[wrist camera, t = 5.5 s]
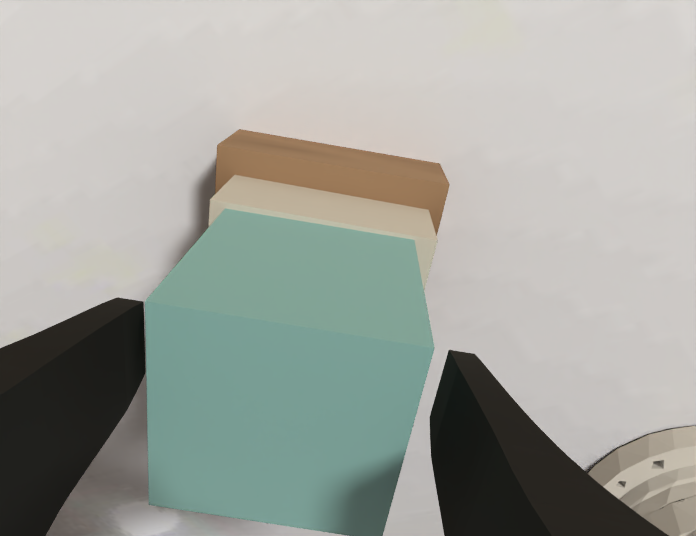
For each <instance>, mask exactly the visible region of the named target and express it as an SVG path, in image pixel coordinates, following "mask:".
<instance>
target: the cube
mask: <svg viewBox="0 0 696 536" xmlns="http://www.w3.org/2000/svg"><path fill="white" fill-rule="evenodd" d="M145 321H146V376H147V431H148V485H149V505H153V506H160V507H166V508H173V509H179V510H186V511H192V512H199V513H205V514H212V515H218V516H225V517H231V518H238V519H244V520H251V521H257V522H264V523H270V524H277V525H284V526H290V527H297V528H303V529H310V530H316V531H323V532H329V533H336V534H342V535H349V536H382V535H383V532H384V528H385V525H386V521H387V517H388V514H389V510H390V507H391V503H392V499H393V496H394V492H395V488H396V485H397V481H398V478H399V474H400V470H401V467H402V463H403V460H404V456H405V452H406V449H407V445H408V442H409V438H410V434H411V431H412V427H413V424H414V420H415V416H416V413H417V409H418V406H419V402H420V398H421V395H422V391H423V388H424V384H425V380H426V377H427V373H428V370H429V366H430V362H431V359H432V355H433V351H434V343H433V338H432V332H431V327H430V321H429V316H428V311H427V305H426V300H425V294H424V289H423V283H422V278H421V273H420V267H419V262H418V256H417V251H416V246H415V240H412V239H406V238H400V237H394V236H388V235H382V234H376V233H370V232H364V231H358V230H352V229H346V228H340V227H334V226H328V225H322V224H316V223H310V222H304V221H298V220H292V219H286V218H280V217H274V216H268V215H262V214H256V213H250V212H244V211H238V210H232V209H226V208H225V209H224V210H223V211H222V213H221V214H220V215H219V216H218V217H217V218H216V220H215V221H214V222H213V223H212V224H211V225H210V227H209V228H208V229H207V230H206V231H205V232H204V233H203V235H202V236H201V237H200V238H199V239H198V240H197V242H196V243H195V244H194V245H193V246H192V247H191V249H190V250H189V251H188V252H187V253H186V254H185V256H184V257H183V258H182V259H181V260H180V261H179V263H178V264H177V265H176V266H175V267H174V268H173V269H172V271H171V272H170V273H169V274H168V275H167V276H166V278H165V279H164V280H163V281H162V282H161V283H160V285H159V286H158V287H157V288H156V289H155V290H154V292H153V293H152V294H151V295H150V296H149V297H148V299H147V300H146V301H145Z"/></svg>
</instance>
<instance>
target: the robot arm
mask: <svg viewBox="0 0 696 536" xmlns="http://www.w3.org/2000/svg"><path fill="white" fill-rule="evenodd" d="M144 375H145V341H144V304H143V302H142V301H136V300H129V299H123V298H115V299H112V300H110V301H107V302H105V303H102V304H100V305H98V306H96V307H93V308H91V309H89V310H87V311H85V312H82V313H80V314H78V315H76V316H74V317H72V318H69V319H67V320H65V321H63V322H61V323H58V324H56V325H54V326H52V327H50V328H47V329H45V330H43V331H41V332H39V333H36V334H34V335H32V336H29V337H27V338H24V339H22V340H19V341H17V342H15V343H12V344H10V345H7V346H5V347H2V348H0V536H46V534H47V532H48V530H49V528H50V526H51V525H52V523H53V521H54V519H55V517H56V516H57V514H58V512H59V510H60V509H61V507H62V506H63V504H64V502H65V501H66V499H67V498H68V496H69V494H70V493H71V491H72V490H73V488H74V487H75V486H76V484H77V483H78V481H79V480H80V478H81V477H82V475H83V474H84V472H85V471H86V470H87V468H88V467H89V465H90V464H91V462H92V461H93V459H94V458H95V456H96V455H97V454H98V452H99V451H100V449H101V448H102V446H103V445H104V443H105V442H106V441H107V439H108V438H109V436H110V435H111V433H112V432H113V430H114V429H115V427H116V426H117V424H118V423H119V421H120V420H121V418H122V417H123V415H124V414H125V412H126V411H127V409H128V407H129V405H130V403H131V401H132V399H133V397H134V396H135V394H136V392H137V389H138V387H139V385H140V383H141V381H142V379H143V377H144ZM430 441H431V458H432V465H433V471H434V477H435V483H436V489H437V495H438V500H439V506H440V512H441V518H442V524H443V529H444V535H445V536H669V535H667V534H666V533H664V532H663V531H662V530H660V529H659V528H657V527H656V526H654V525H653V524H652V523H650V522H649V521H647V520H646V519H645V518H643V517H642V516H640V515H639V514H638V513H636V512H635V511H634V510H633V509H631V508H630V507H629V506H627V505H626V504H625V503H623V502H622V501H621V500H619V499H618V498H617V497H615V496H614V495H613V494H611V493H610V492H609V491H608V490H607V489H605V488H604V487H603V486H602V485H600V484H599V483H598V482H597V481H596V480H594V479H593V478H592V477H591V476H590V475H589V474H588V473H586V472H585V471H584V470H583V469H582V468H581V467H580V466H578V465H577V464H576V463H575V462H574V461H573V460H572V459H570V458H569V457H568V456H567V455H566V454H565V453H564V452H563V451H562V450H561V449H560V448H559V447H558V446H557V445H556V444H555V443H554V442H553V441H552V440H551V439H550V438H549V437H548V436H547V435H546V434H545V433H544V432H543V431H542V430H541V429H540V428H539V427H538V426H537V425H536V424H535V423H534V422H533V421H532V420H531V419H530V418H529V416H528V415H527V414H526V413H525V412H524V411H523V410H522V409H521V408H520V406H519V405H518V404H517V403H516V402H515V401H514V400H513V398H512V397H511V396H510V395H509V394H508V393H507V391H506V390H505V389H504V388H503V387H502V386H501V384H500V383H499V382H498V381H497V380H496V378H495V377H494V376H493V375H492V374H491V372H490V371H489V370H488V369H487V368H486V366H485V365H484V364H483V363H482V362H481V360H480V359H479V358H478V357H477V356H476V355H475V354H471V353H465V352H459V351H452V350H449V352H448V355H447V359H446V362H445V366H444V369H443V373H442V376H441V380H440V383H439V387H438V390H437V394H436V397H435V401H434V404H433V408H432V411H431V415H430Z"/></svg>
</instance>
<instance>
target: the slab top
mask: <svg viewBox="0 0 696 536" xmlns="http://www.w3.org/2000/svg"><path fill="white" fill-rule="evenodd" d="M225 208H226V209H232V210H238V211H244V212H250V213H256V214H262V215H268V216H274V217H280V218H286V219H292V220H298V221H304V222H310V223H316V224H322V225H328V226H334V227H340V228H346V229H352V230H358V231H364V232H370V233H376V234H382V235H388V236H394V237H400V238H406V239H412V240H415V246H416V251H417V256H418V262H419V267H420V273H421V278H422V283H423V289H425V286H426V282H427V278H428V274H429V271H430V267H431V263H432V259H433V256H434V252H435V248H436V244H437V241H438V240H437V236H436V233H435V230H434V226H433V223H432V219H431V216H430V213H429V210H427V209H421V208H415V207H410V206H404V205H399V204H393V203H388V202H382V201H377V200H371V199H366V198H360V197H355V196H349V195H344V194H338V193H333V192H327V191H322V190H316V189H311V188H305V187H299V186H294V185H288V184H283V183H277V182H272V181H266V180H261V179H255V178H250V177H244V176H239V175H234V176H233V177H232V178H231V179H230V180H229V181H228V182H227V183H226V184H225V185H224V186H223V187H222V188H221V189H220V190H219V191H218V192H217V193H216V194H215V195H214V196H213V197H212V198H211V199H210V207H209V226H208V228H209V227H210V225H211V224H212V223H213V222H214V221H215V220H216V218H217V217H218V216H219V215H220V214H221V213H222V211H223V210H224V209H225Z"/></svg>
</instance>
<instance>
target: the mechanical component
mask: <svg viewBox="0 0 696 536" xmlns="http://www.w3.org/2000/svg"><path fill="white" fill-rule="evenodd" d="M588 474H589V475H590V476H591V477H592V478H593V479H594V480H596V481H597V482H598V483H599V484H600V485H602V486H603V487H604V488H605V489H607V490H608V491H609V492H610V493H611V494H613V495H614V496H615V497H617V498H618V499H619V500H621V501H622V502H623V503H625V504H626V505H627V506H629V507H630V508H631V509H633V510H634V511H635V512H636V513H638V514H639V515H640V516H642V517H643V518H645V519H646V520H647V521H649V522H650V523H652V524H653V525H654V526H656V527H657V528H659V529H660V530H662V531H663V532H664V533H666V534H667V535H669V536H696V426H690V427H683V428H676V429H670V430H666V431H662V432H658V433H653V434H649V435H647V436H645V437H642V438H640V439H638V440H636V441H633V442H631V443H629V444H627V445H625V446H622V447H620V448H618V449H616V450H615V451H614V452H612V453H611V454H610V455H608V456H607V457H606V458H604V459H603V460H602V461H600V462H599V463H598V464H596V465H595V466H594V467H593V468H592V469H591V470H590V471H589V473H588Z"/></svg>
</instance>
